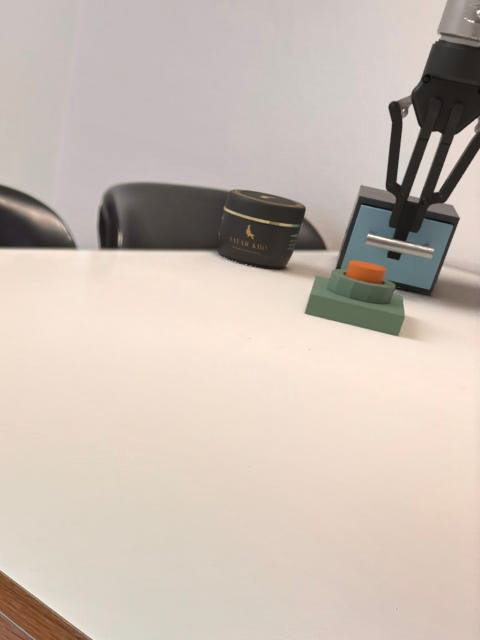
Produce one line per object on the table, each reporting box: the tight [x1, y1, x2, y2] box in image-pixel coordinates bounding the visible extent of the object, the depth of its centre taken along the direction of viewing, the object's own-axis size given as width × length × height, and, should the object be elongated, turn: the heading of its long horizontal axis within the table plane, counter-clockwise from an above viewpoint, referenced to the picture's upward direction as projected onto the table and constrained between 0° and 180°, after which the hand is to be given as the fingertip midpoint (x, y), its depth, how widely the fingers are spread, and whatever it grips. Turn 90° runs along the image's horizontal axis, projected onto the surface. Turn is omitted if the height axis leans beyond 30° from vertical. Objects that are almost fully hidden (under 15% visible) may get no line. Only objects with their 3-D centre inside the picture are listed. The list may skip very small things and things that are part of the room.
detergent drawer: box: [341, 204, 453, 290], centre depth 138 cm, size 20×11×8 cm, turn 162°
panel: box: [304, 268, 406, 337], centre depth 118 cm, size 12×10×4 cm
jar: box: [216, 188, 307, 270], centre depth 135 cm, size 10×10×8 cm
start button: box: [346, 260, 386, 284], centre depth 117 cm, size 4×4×2 cm
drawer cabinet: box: [334, 184, 461, 296], centre depth 143 cm, size 15×13×10 cm
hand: (393, 257), depth 133 cm, fingers closed
